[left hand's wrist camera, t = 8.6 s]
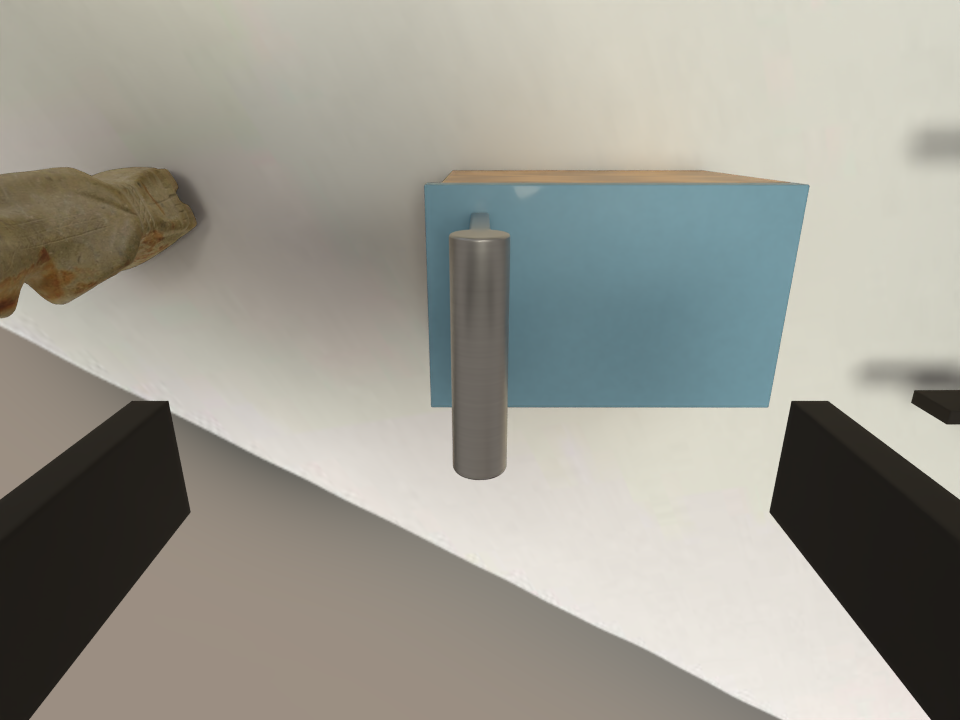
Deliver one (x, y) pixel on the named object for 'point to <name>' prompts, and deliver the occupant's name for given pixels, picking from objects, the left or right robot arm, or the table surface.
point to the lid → (602, 299)
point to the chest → (596, 177)
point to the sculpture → (82, 228)
